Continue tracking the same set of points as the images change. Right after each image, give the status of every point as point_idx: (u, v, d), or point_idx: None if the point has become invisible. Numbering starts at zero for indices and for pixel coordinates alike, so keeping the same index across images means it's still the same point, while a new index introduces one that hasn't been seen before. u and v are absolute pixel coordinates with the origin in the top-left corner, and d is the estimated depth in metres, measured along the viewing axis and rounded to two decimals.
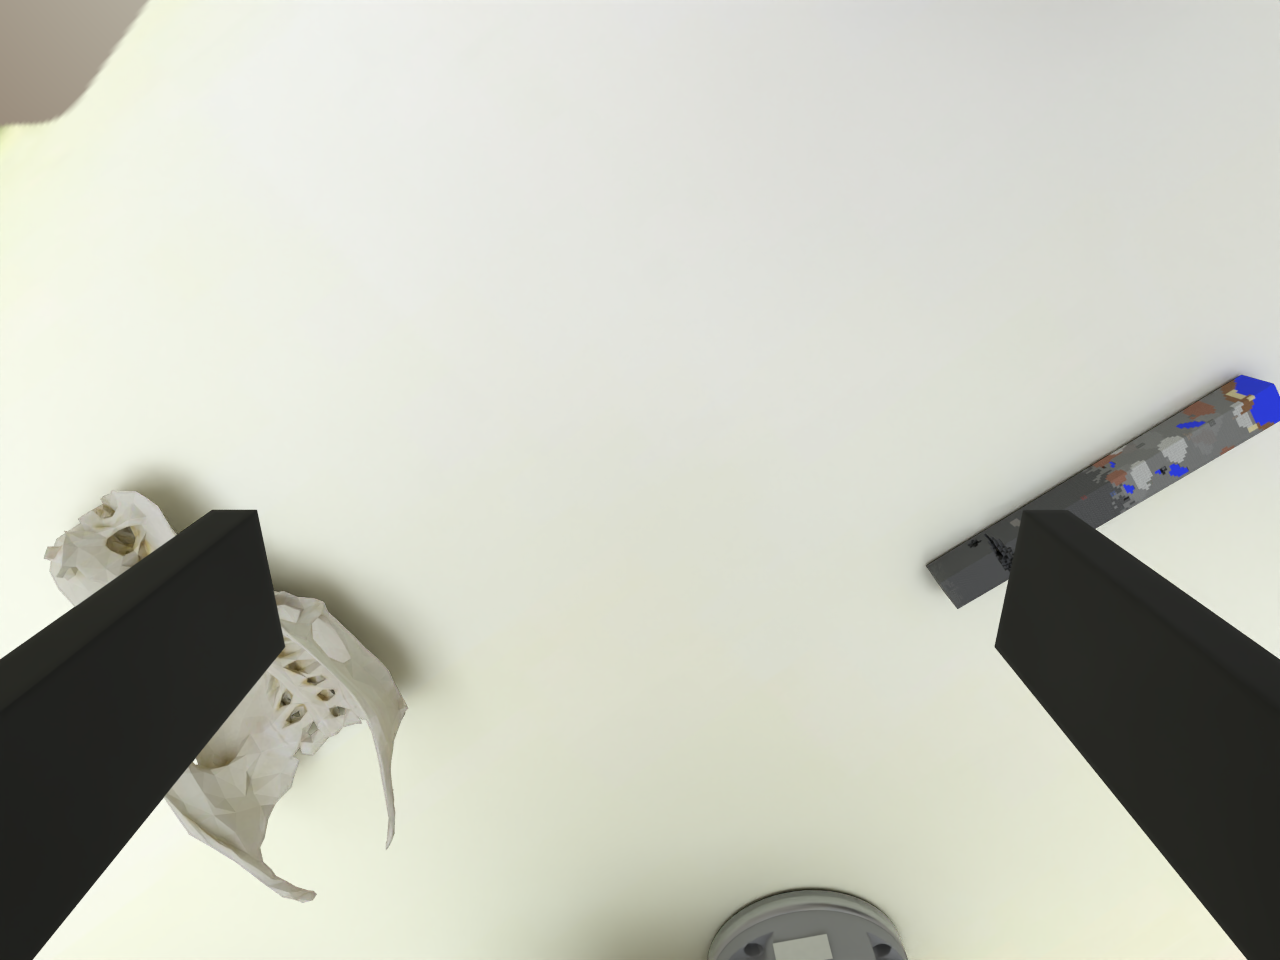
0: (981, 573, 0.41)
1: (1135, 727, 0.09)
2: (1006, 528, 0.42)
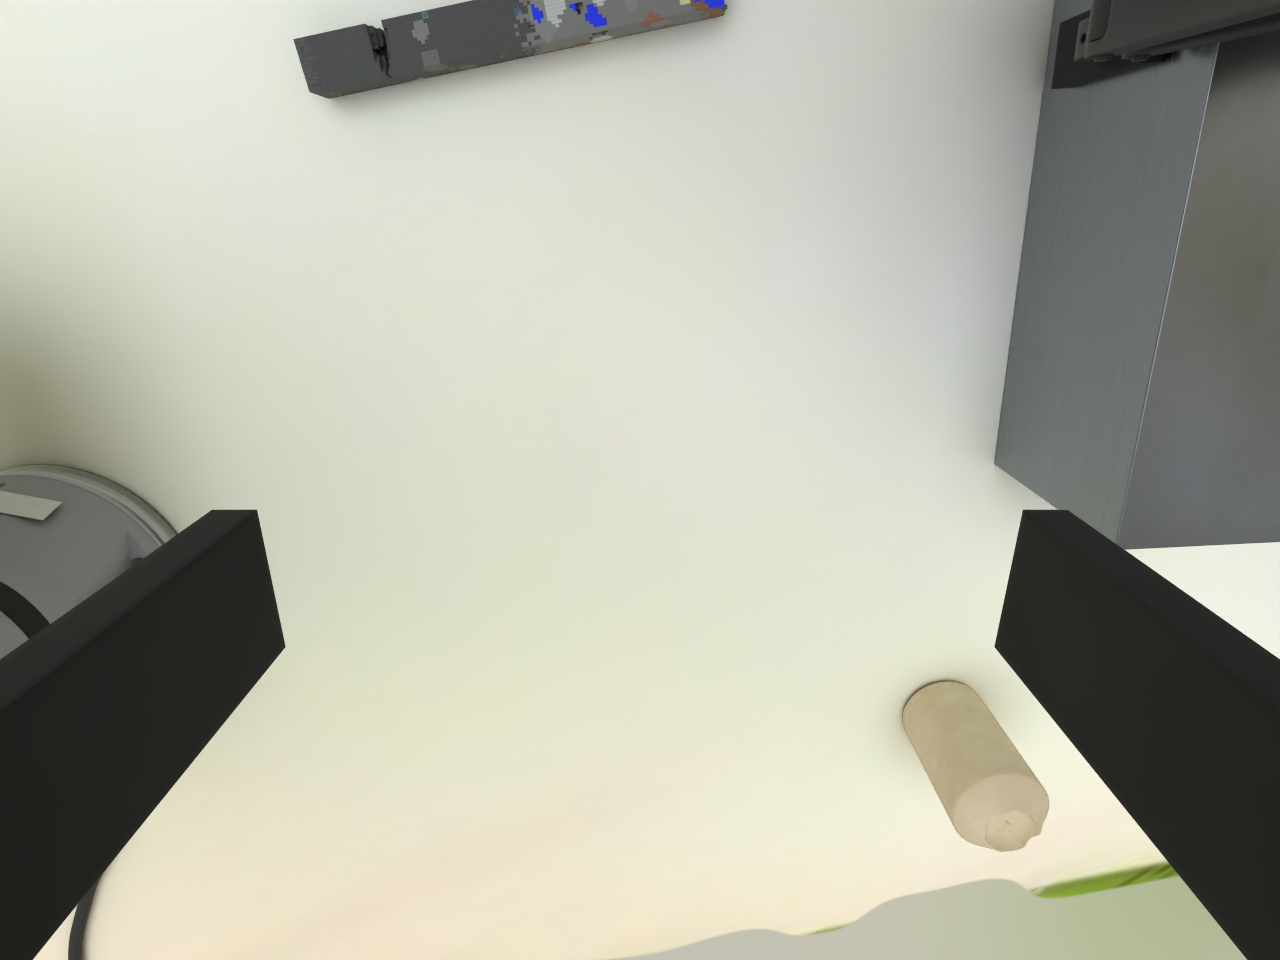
0: (346, 50, 0.33)
1: (1135, 727, 0.09)
2: None
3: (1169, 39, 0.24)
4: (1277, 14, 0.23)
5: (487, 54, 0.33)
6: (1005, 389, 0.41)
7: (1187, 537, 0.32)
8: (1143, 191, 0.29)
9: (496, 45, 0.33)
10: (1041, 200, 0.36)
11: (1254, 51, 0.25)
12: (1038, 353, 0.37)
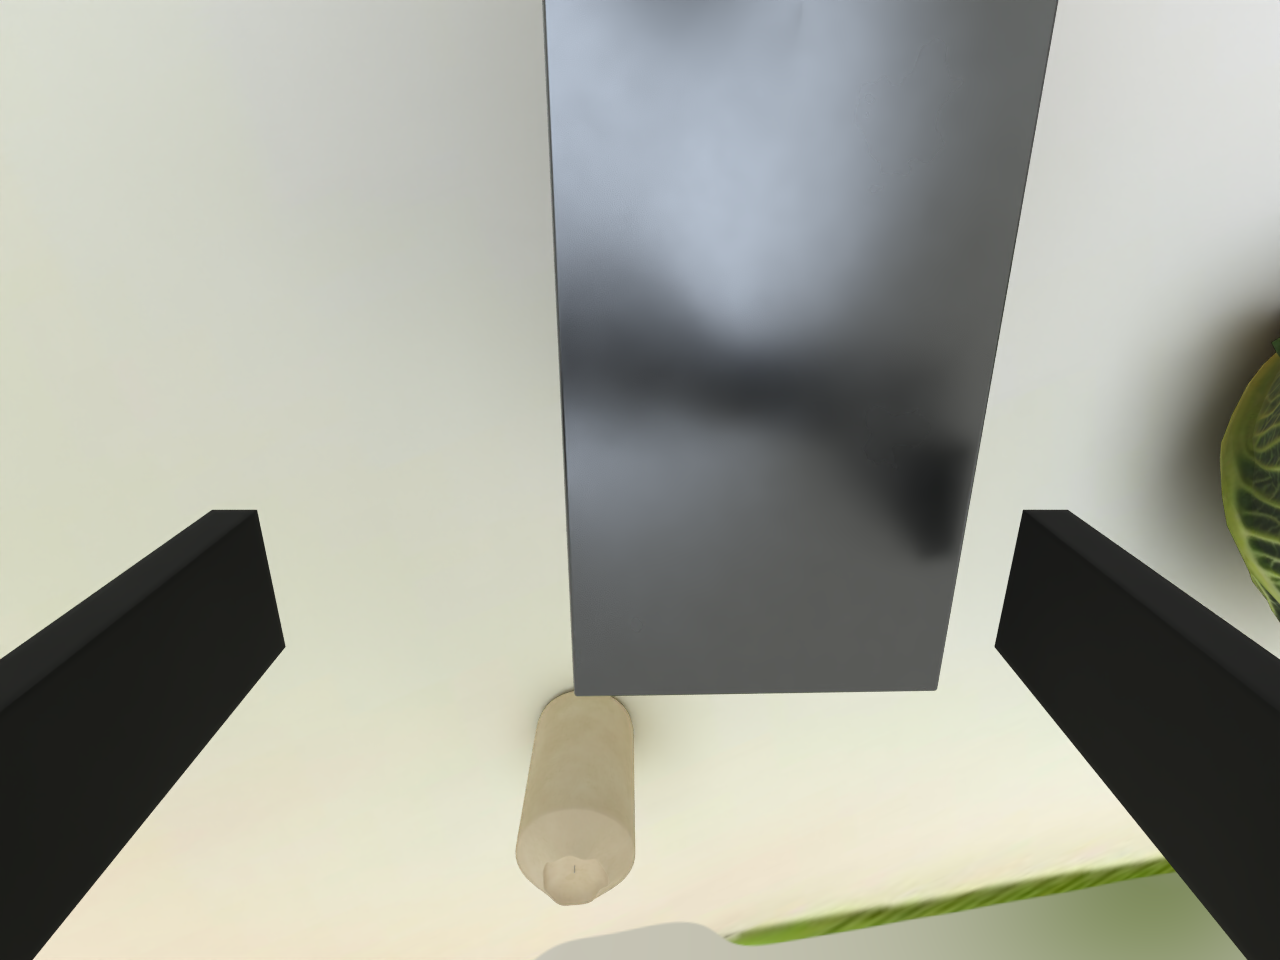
0: None
1: (1135, 727, 0.09)
2: None
3: None
4: None
5: None
6: None
7: (722, 677, 0.15)
8: None
9: None
10: None
11: None
12: None
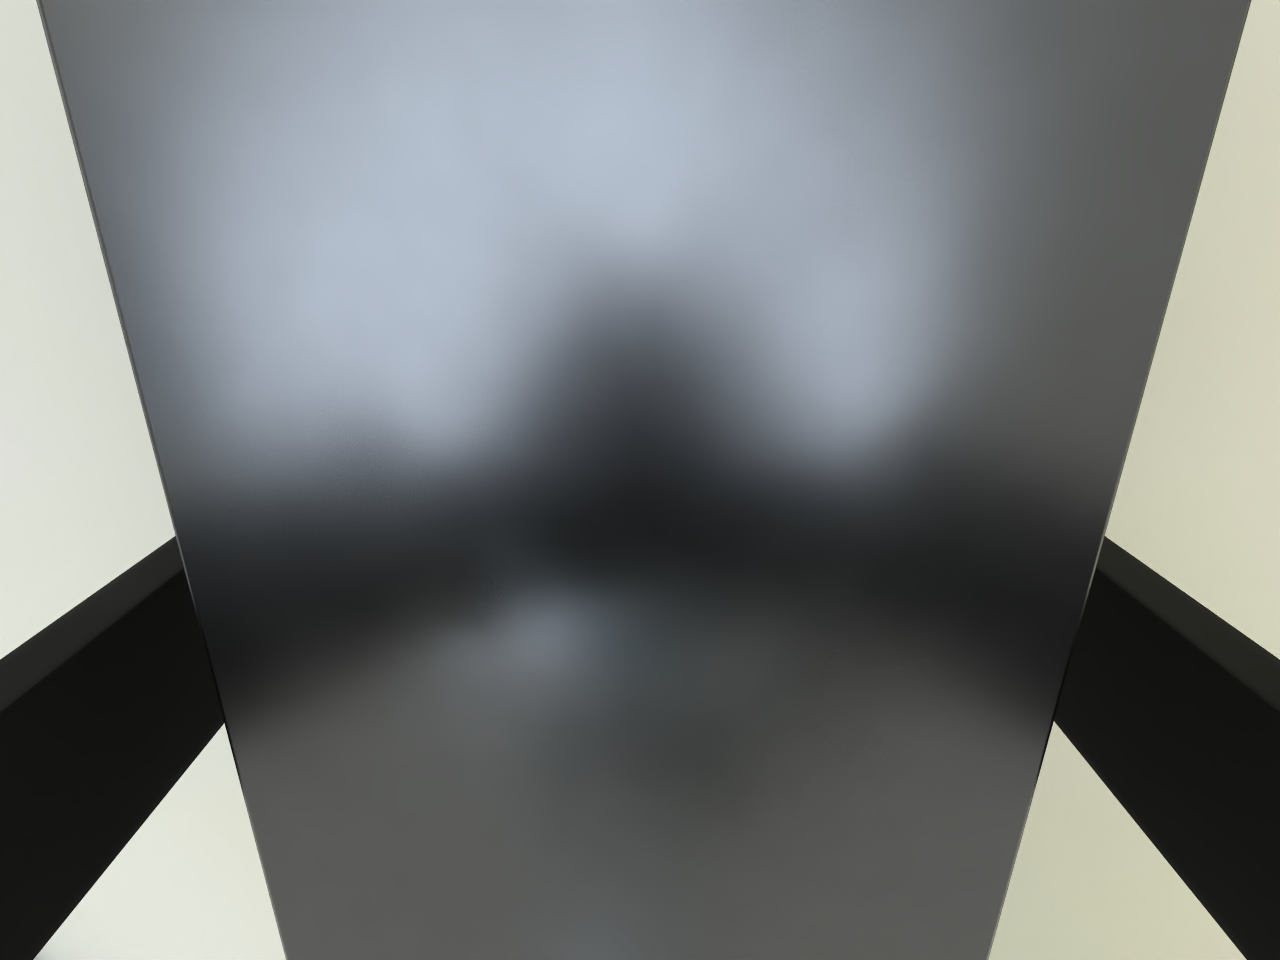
0: None
1: (1135, 727, 0.09)
2: None
3: None
4: None
5: None
6: None
7: None
8: None
9: None
10: None
11: None
12: None
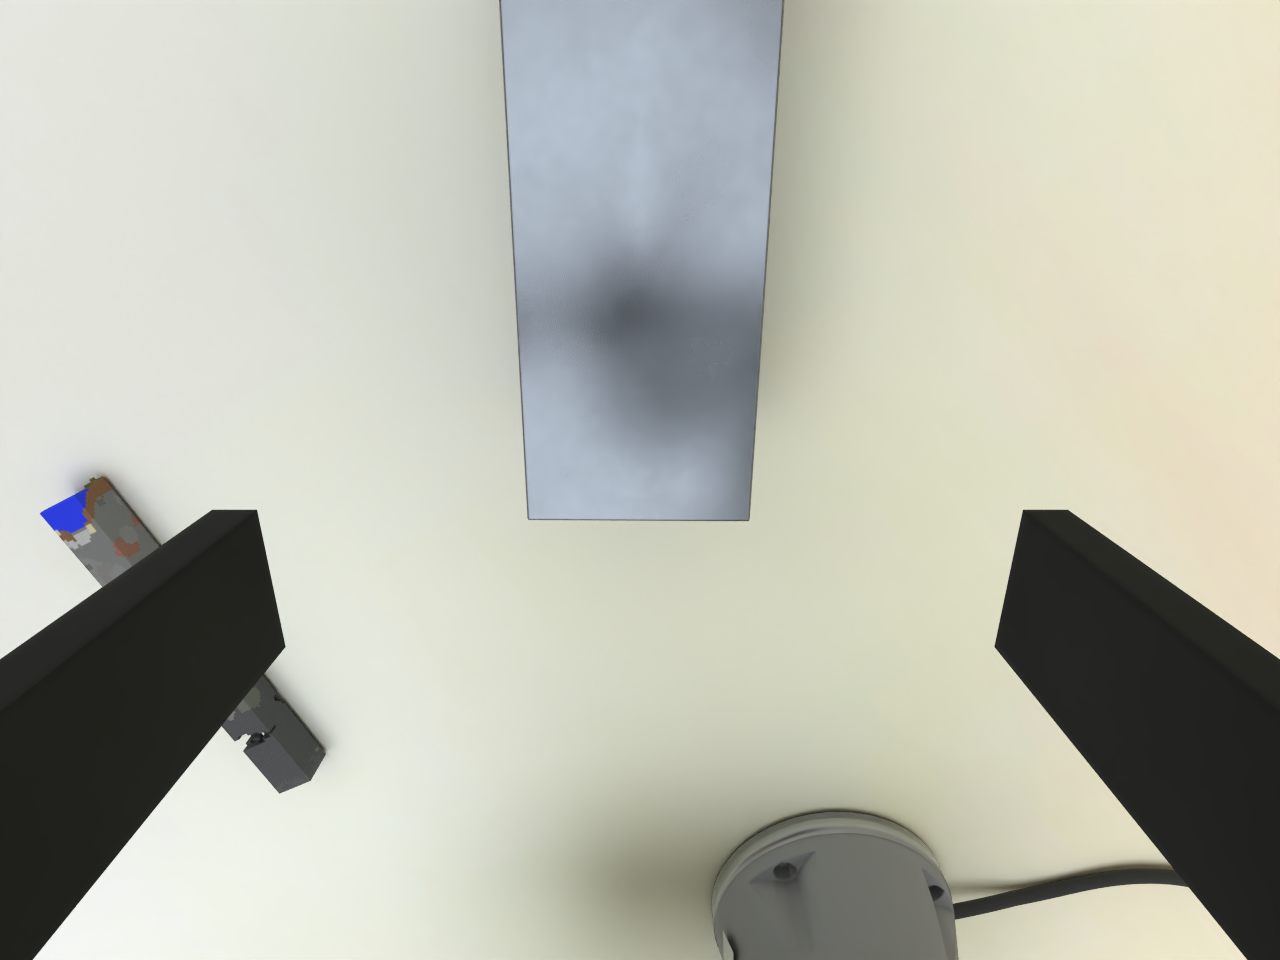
0: (268, 760, 0.40)
1: (1135, 727, 0.09)
2: None
3: None
4: None
5: None
6: None
7: (617, 508, 0.25)
8: None
9: None
10: None
11: None
12: None
